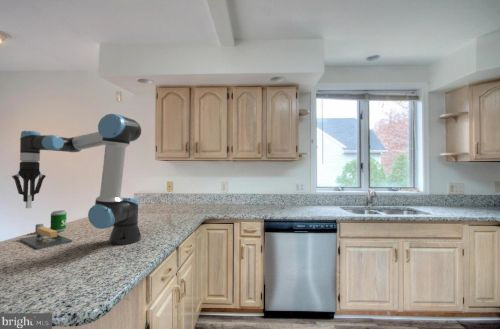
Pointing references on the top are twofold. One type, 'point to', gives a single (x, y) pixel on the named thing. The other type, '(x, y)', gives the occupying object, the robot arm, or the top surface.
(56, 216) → the soda can
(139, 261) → the top surface
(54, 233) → the bar
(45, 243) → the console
